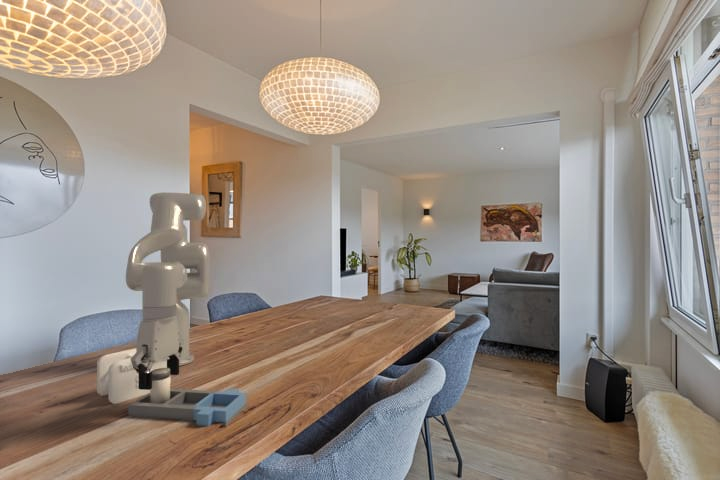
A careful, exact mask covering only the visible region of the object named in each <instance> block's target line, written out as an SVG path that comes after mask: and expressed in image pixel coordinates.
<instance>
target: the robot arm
mask: <svg viewBox="0 0 720 480" xmlns="http://www.w3.org/2000/svg"><path fill="white" fill-rule="evenodd" d="M149 206H150V211H151V213H152V217H151V225H150V232H148V233H146V234H145V235H144V236H142V238H140V239H139V240H138V241H137V242H136V243H135V244H134V245H133V246H132V248H131V250H130V251H129V254H128V257H127V258H128V259H127V262H126V263H127V264H126V269H125V270H126V271H125V284H126V287H128V289H129V290H130V291H131V290H132V291H134V292H142V295H141V296H142V297H141V298H142V303H141V305H142V307H141V308H142V310H141V311H142V313H141V316H142V317H141V318H142V320H140V322H139V324H138V325H139V326H138V330H137V336H136V337H137V338H136V347H135V348H136V353H135V354H134V356H133V357H132V358H131V362H132V364H133V368H134V369H135V370H136V373H138V388H139V389H142V390H150V389H152V372H150V370H151V368H152V366H153V364H154V362H157V361H160V360H162V359H164V358H166V357H168V358H169V359H167V368H170V375H171V376H178V375H180V367H181V366H184V365H188V364H190V363H193V361H194V360H195V356H194V355H193V354H191V353H190V312H189V309H188V307H187V306H186V305H185V304H184V303H183V302H182V301H183V300H185V301H186V300H194V299H195V300H196V299H204V298H207V297H208V296H209V295H210V291H211V254H210V248H209V246H208V245H207V244H206V243H204V242H189V241H188V229H187V226H186V225H185V223H184V221H196V222H197V221H203V219H205V216H206V213H207V201H206V199H205V197H204V195H203V194H200V193H182V192H157V193H153V194H151V195H150V197H149ZM159 251H160V262H159V261H158V262H157V261H156V262H155V261H154V262H143V261H144V260H145V259H146V258H147V257H148V256H150V255H152V254H153V253H156V252H159ZM191 269H192V270H195V271H197V272H195V271H194V272H188V270H191ZM150 358H151V359H150ZM145 363H148V365H147V367H146V366H145Z"/></svg>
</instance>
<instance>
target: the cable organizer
mask: <svg viewBox="0 0 720 480" xmlns="http://www.w3.org/2000/svg"><path fill="white" fill-rule="evenodd" d="M135 353H136V347H135V348H131V349H127V350H126V349H125V350H121V351H117V352H113V353H107V354H104V355H102V356H101V357H99V359H97V362H96V392H97V394H98V395H99V396H101V397H104V396H107V395H108V397H107V398H108V401H109V402H110V403H112V404H113V405H115V404H120V403H122V402H126V401H128V400H129V401H130V400H131V399H135V398H139V397H143V396H145V395H147V394H148V393H150V390H142V389H139V388H138V373H136V370H135V369H134V368H133V364H132V362H131V358H132V357H133V356H134V354H135ZM150 359H151V358H150ZM167 359H169V358H168V357H166V358H164V359H162V360H160V361H157V362H154V364H153V366H152V368H151V370H150V372H151V371H152V370H155V369H159V368H167ZM147 365H148V363H145V366H146V367H147ZM171 376H172V375H170V383H171V382H172V381H171Z"/></svg>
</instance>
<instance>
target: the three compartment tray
mask: <svg viewBox="0 0 720 480" xmlns="http://www.w3.org/2000/svg"><path fill="white" fill-rule="evenodd" d="M245 408H247V392H240V389H239V388H227V389H226V390H224V391H222V390H221V391H220V390H202V389H201V390H199V389H182V388H170V400H169V401H167V402H165V403H164V404H156V403H150V393H148V394H145V395H142V396H140V398H138V399H136V400H134V401H132V402H131V403H129V404H128V416H130V417H131V416H132V417H145V418H157V419H169V420H170V419H173V420H174V419H175V420H187V421H196V426H204V427H209V426H210V425H212V424H213V423H214V422H215V423H221V424H220V425H219V426H220V427H227V426H228V425H229V424H230V423H231V422H233V420H234V419H236V417H237V416H238V415H239V414H240V413H241V412H242V411H244V409H245Z"/></svg>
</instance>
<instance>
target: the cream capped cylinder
mask: <svg viewBox="0 0 720 480" xmlns="http://www.w3.org/2000/svg"><path fill="white" fill-rule="evenodd" d="M151 372H152V389H150V403H156V404H164V403H165V402H167V401H169V400H170V389H171V382H170V368H159V369H155V370H152V371H151Z"/></svg>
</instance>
